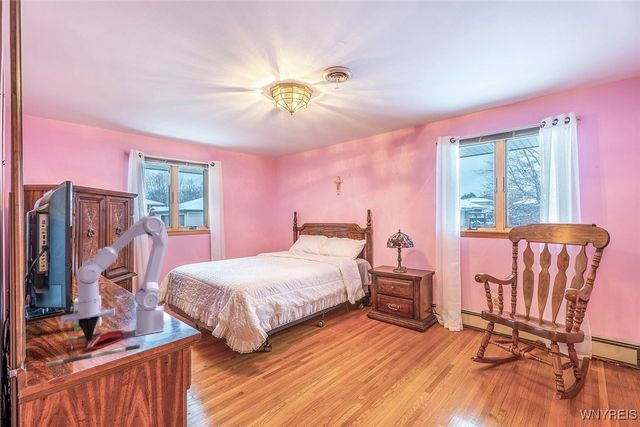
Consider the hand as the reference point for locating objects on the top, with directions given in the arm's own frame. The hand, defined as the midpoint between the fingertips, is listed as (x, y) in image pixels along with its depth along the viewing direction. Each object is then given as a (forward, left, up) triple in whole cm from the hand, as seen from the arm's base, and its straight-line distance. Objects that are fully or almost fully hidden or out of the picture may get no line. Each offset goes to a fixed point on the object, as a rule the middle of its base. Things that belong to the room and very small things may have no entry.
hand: (89, 339), depth 102 cm
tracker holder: (-3, 0, -3) cm, 4 cm away
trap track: (-2, 0, -2) cm, 3 cm away
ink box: (+4, -23, -2) cm, 23 cm away
